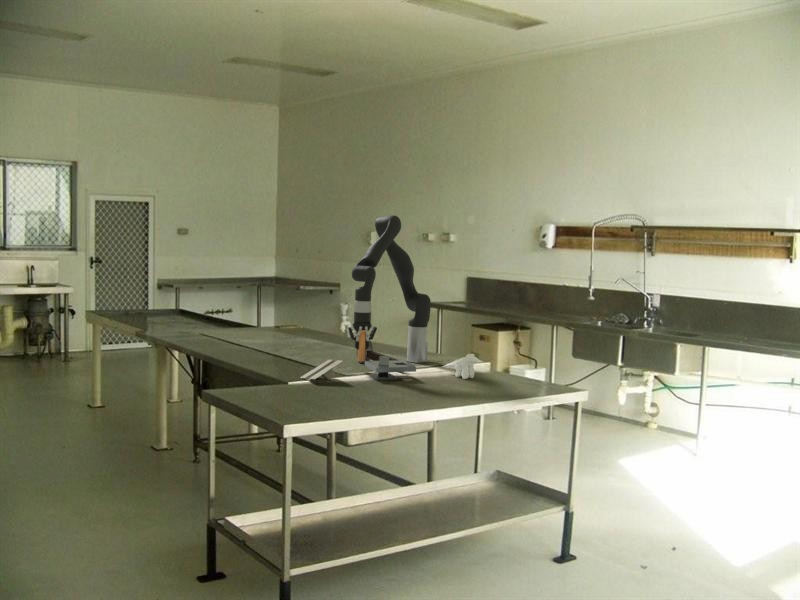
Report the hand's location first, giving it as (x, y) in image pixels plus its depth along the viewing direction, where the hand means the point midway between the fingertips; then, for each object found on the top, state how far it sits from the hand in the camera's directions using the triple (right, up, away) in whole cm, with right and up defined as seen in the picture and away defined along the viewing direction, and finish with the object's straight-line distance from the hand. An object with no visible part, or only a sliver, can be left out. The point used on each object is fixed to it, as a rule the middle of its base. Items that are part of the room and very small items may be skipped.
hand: (361, 349), depth 375 cm
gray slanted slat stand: (-16, -12, -23) cm, 30 cm away
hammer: (+8, -10, +14) cm, 19 cm away
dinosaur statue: (+44, -13, 0) cm, 46 cm away
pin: (0, -5, +1) cm, 5 cm away
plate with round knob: (+13, -12, -10) cm, 20 cm away
